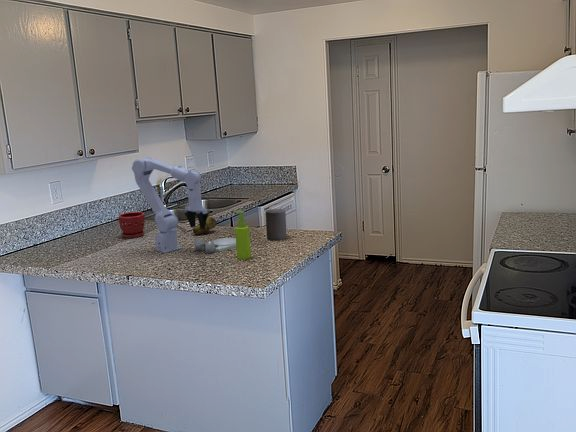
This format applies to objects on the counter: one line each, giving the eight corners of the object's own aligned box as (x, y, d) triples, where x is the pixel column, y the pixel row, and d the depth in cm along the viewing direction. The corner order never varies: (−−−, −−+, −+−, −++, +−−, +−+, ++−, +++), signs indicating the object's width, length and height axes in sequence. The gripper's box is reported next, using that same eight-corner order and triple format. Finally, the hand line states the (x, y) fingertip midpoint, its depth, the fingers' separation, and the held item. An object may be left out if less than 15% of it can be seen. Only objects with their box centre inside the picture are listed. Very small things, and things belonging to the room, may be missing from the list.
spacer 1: (198, 251, 251) (197, 240, 250) (193, 250, 253) (192, 239, 252) (205, 249, 253) (204, 239, 252) (200, 248, 256) (199, 238, 255)
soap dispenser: (242, 254, 240) (238, 209, 236) (254, 256, 236) (250, 210, 232) (232, 258, 236) (228, 211, 232) (244, 260, 231) (240, 213, 228)
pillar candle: (264, 240, 264) (262, 209, 261) (270, 235, 273) (268, 205, 270) (283, 241, 261) (281, 209, 258) (289, 236, 270) (288, 205, 267)
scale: (219, 251, 248) (218, 246, 247) (199, 247, 259) (198, 242, 258) (247, 243, 259) (246, 239, 259) (227, 240, 270) (226, 235, 269)
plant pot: (116, 239, 287) (113, 216, 285) (129, 233, 300) (126, 211, 298) (139, 239, 284) (136, 216, 282) (151, 233, 297) (148, 211, 295)
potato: (191, 233, 290) (189, 218, 289) (215, 230, 294) (214, 215, 293) (194, 236, 282) (192, 221, 281) (219, 233, 287) (217, 218, 285)
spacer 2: (209, 254, 245) (208, 243, 244) (203, 252, 248) (202, 242, 247) (216, 252, 248) (215, 241, 247) (211, 251, 250) (210, 240, 250)
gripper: (178, 198, 251) (181, 227, 254) (196, 200, 241) (200, 231, 243) (191, 196, 256) (194, 225, 259) (210, 198, 246) (212, 228, 248)
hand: (197, 227), depth 251 cm, fingers open, 7 cm apart
